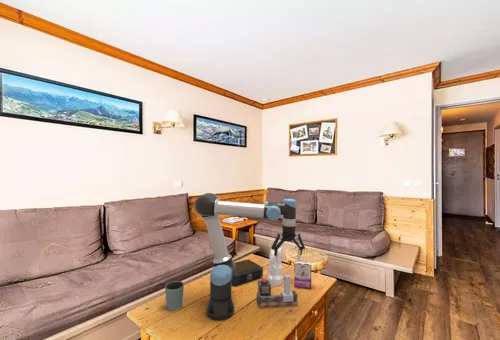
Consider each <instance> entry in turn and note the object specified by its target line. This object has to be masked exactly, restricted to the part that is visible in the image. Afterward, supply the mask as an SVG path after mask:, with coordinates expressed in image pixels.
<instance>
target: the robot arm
mask: <svg viewBox="0 0 500 340" xmlns="http://www.w3.org/2000/svg"><path fill="white" fill-rule="evenodd" d="M193 206H194V210H195V212H196V213H197V214H198V215H200V217H201V218H202V219H203V220H205V225H206V229H207V233H208V237H209V241H210V245H211V246H210V247H211V249H212V253H213V256H214V257H213V258H214V259H213V260H212V263H213V268H211V269H210V275H209V280H210V281H209V284H210V285H209V299H208V300H209V301H208V303H207V305H206V306H207V307H206V315H207V318H209V319H211V320H214V321H224V320H225V321H226V320H228V319H230V318H232V317H233V315H234V314H235V304H234V300H233V298H232V291H233V290H232V287H233V285H232V280H233V277H234V274H235V271H236V265H235V261H234V260H233V257H232V255H231V254H230V253H229V250H228V247H227V243H226V239H225V235H224V230H223V225H222V223H221V220H220V219H221V218H220V216H231V217H232V216H233V217H242V218H243V217H245V218H257V219H267V220H270V221H272V222H273V221H277V220H279V219H280V217H281V216H282V229H281V230H282V233H279V232H277V234H276V237H275V239H274V240H273V243H272V245H271V249H272V250H274V255H275V256H276V262H278V249H279V248H281V246H282V245H283V244H284V243H285V242H293V243H294V244H295V245H296V246H297V248H298V249H297V257H296V258H297V260H296V261H301V256H302V255H303V250H305V249H306V247H305V244H304V242H303V239H302V237H301V234H300V233H299V232H296V219H297V218H296V217H297V214H296V213H297V201H296V199H294V198H284V199H283V201H281V202H280V201H279V202H278V201H263V203H254V202H253V203H250V202H241V201H240V202H239V201H226V200H220V198H219V197H218V196H217V195H216V194H215V193H213V192H206V193H204V194H201V195H199V196H198V197H197V198H196V199H195V201H194V205H193ZM280 238H281V239H280ZM295 238H297V240H298V241H297V240H296V239H295ZM298 242H299V243H298Z"/></svg>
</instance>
